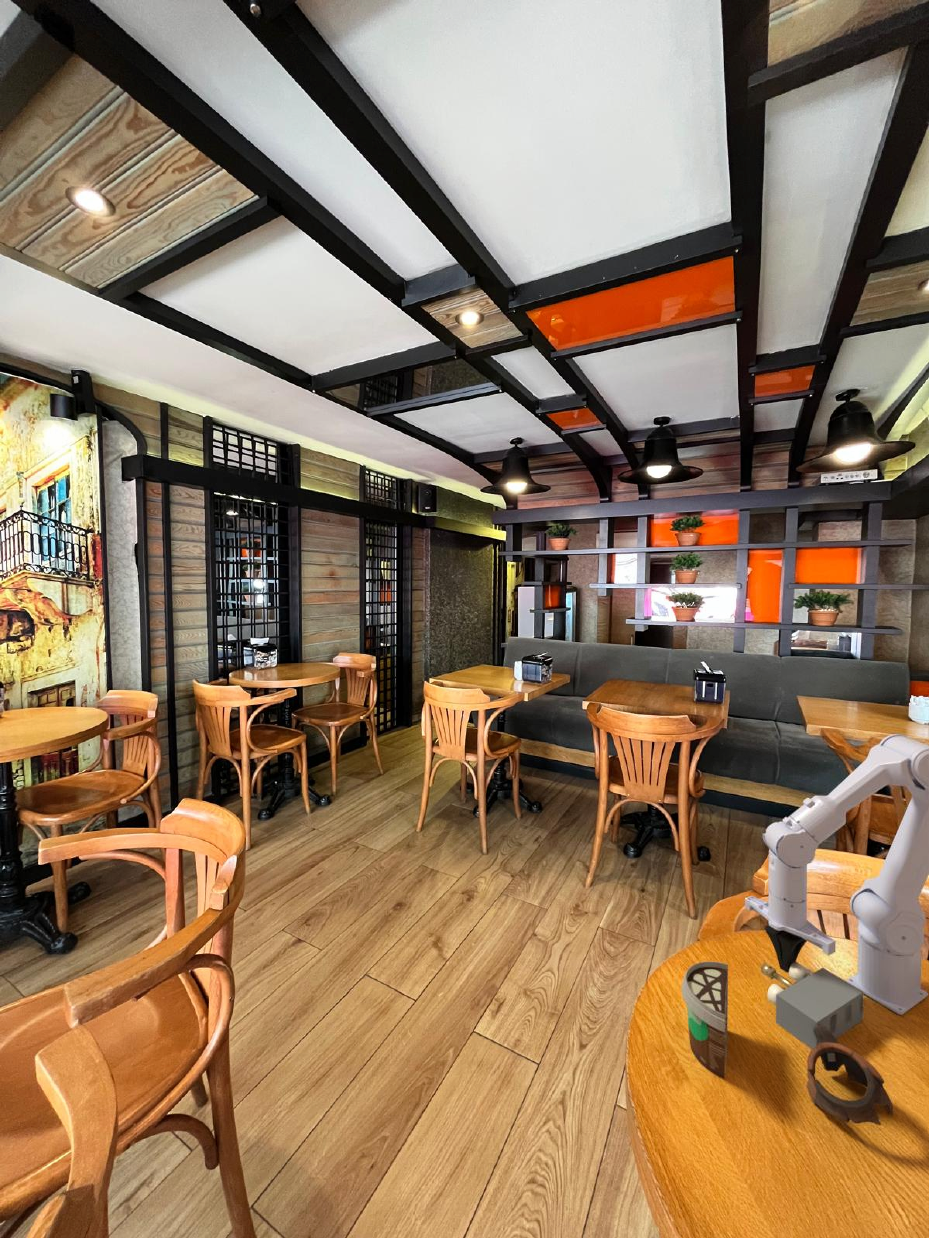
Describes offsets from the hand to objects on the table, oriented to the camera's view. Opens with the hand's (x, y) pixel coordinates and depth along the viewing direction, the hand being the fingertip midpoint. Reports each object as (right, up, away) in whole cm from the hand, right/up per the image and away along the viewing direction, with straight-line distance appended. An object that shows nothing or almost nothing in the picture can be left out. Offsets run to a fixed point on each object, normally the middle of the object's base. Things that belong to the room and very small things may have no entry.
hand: (786, 968), depth 89 cm
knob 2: (+2, -1, -4) cm, 5 cm away
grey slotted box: (0, -2, -9) cm, 9 cm away
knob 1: (-5, -1, -9) cm, 11 cm away
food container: (-21, -3, -13) cm, 25 cm away
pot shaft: (-3, 0, -4) cm, 5 cm away
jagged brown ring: (-6, -3, -21) cm, 22 cm away
